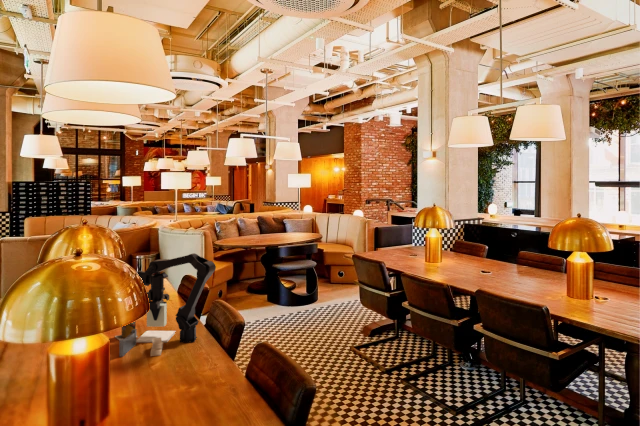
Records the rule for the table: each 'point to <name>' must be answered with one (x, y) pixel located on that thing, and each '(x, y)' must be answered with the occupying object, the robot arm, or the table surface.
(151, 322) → the grey upright block
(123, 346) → the rack
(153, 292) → the robot arm
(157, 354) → the offcut stack
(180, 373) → the table surface
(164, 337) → the mat
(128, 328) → the condiment
